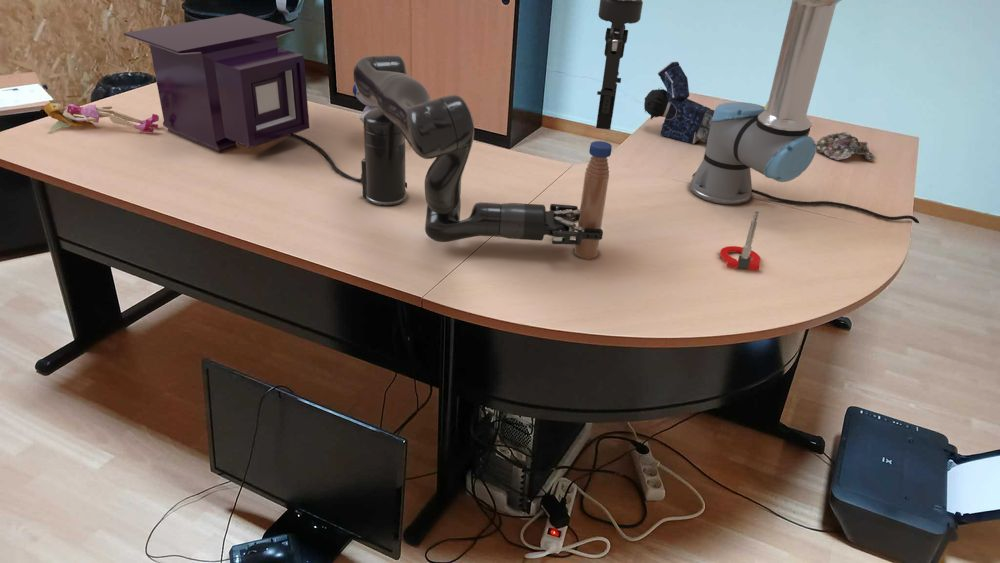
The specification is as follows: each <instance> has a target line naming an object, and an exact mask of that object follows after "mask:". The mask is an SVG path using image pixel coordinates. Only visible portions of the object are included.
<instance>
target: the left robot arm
mask: <svg viewBox="0 0 1000 563" xmlns="http://www.w3.org/2000/svg"><path fill="white" fill-rule="evenodd" d="M353 82H354V84H355V86H356V89H357V91H358V93H359V94H360V96H361V97H362V98H363V99H364V100H366V101H368V102H370V103H372V104H373V105H375V106H376V107H377V108H376V109H374V110H372V111H370V112H368V113H367V114H366V115H365V116H364V121H363V122H362V124H363V141H364V158H362V159H361V162H360V164H361V174H360V178H355V177H353V176H351V175H349V174H347V173H345V172H344V171H342V170H341V169H340V168H338V167H337V166H336V164H335V163H334V160H333V159H332V158H331V157H330V155H328V154H327V152H326V151H325V150H324V149H323V148H322V147H320V146H319V145H318V144H316V143H315V142H313V141H311V140H310V139H308V138H306V137H304V136H302V135H299V134H296V133H293V134H290V135H289V136H291V137H294V138H297V139H299V140H301V141H304V142H306V143H307V144H309V145H310V146H312V147H314V148H315V149H317V151H319V152H320V153H321V154H323V156H324V157H325V158H326V159H327V161H328V162H329V164H330V166H331V167H332V169H333V170H334V171H335V172H337V173H338V174H339V175H341V176H343V177H344V178H346V179H348V180H350V181H354V182H357V183H361V186H362V198H364V199H366V200H367V201H368V202H369V203H371V204H373V205H377V206H395V205H399V204H401V203H403V202H404V201H405V200H406V199H407V190H406V189H408V182H407V181H406V179H407V178H406V141H407V143H408V145H409V146H410V147H411V149H412V150H413V152H414V153H415V154H416V155H417V156H419V157H420V158H422V159H426V160H430V159H431V160H432V159H433V161H432V163H431V164H430V166H429V167H428V170H427V172H426V174H425V177H424V197H425V202H426V214H425V225H424V231H425V234H426V236H427V237H428V238H429V239H431V240H432V241H435V242H438V243H450V242H455V241H459V240H464V239H470V238H475V237H490V238H491V237H493V238H495V237H496V238H504V239H509V240H524V241H543V240H544V237H545V236H549V237H551V238H552V239H551V244H553V245H566V246H571V245H572V246H575V245H581V242H582V241H583V239H593V240H599V241H601V240H602V239H603V235H604V230H603V229H602V228H601V229H594V228H585V229H584V228H582V227H578V225H577V224H578V222H579V215H580V209H579V207H578V206H577V205H571V204H559V203H550V204H549V210H547V209H546V206H545V205H544V204H540V203H539V204H538V203H522V202H521V203H520V202H505V203H504V202H503V203H502V202H501V203H500V202H498V203H497V202H484V201H483V202H482V201H481V202H480V201H479V202H475V204H474V205H473V207H472V209H471V211H470V215H469V216H468V217H467V218H465V219H461V208H462V198H461V194H462V178H463V173H464V171H465V168H466V165H467V162H468V159H469V156H470V152H471V149H472V146H473V143H474V138H475V123H474V119H473V115H472V112H471V110H470V108H469V105H468V104H467V102H466V101H465V99H464V98H462V97H461V96H460V95H458V94H449V95H444V96H441V97H437V98H434V99H432V100H431V97H430V93H429V91H428V90H427V88H426V87H425V86H424V85H423V84H422V83H421V82H420V81H418V80H417V79H416V78H414V77H413V76H412V75H409V74H408V73H407V67H406V62H405V60H404V59H403V57H401V56H400V55H396V54H386V55H366V56H363V57H360V58H359V59H358V60H357V61H356V63H355V65H354V68H353ZM576 223H577V224H576ZM577 231H578V232H577Z"/></svg>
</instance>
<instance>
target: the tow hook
mask: <svg viewBox="0 0 1000 563" xmlns="http://www.w3.org/2000/svg"><path fill="white" fill-rule="evenodd" d="M759 214H760V213H759V211H754V214H753V218H752V221H750V225H749V229H748V233H747V237H746V241H745V244H744V245H743V246H736V245H728V246H725V247H722V248H721V249H720V252H719V255H720V257H721V259H722V260H724V261H725V262H726V263H725V264H726V267H729V268H736V269H740V270H751V271H760V263H761V259H762V258H761V257H760V255H759V254H758V253H757V252H756V251H754V250H752V248H753V247H752V245H753V240H754V236H755V232H756V230H757V226H758V218H759ZM730 253H741V255H738V259H737V258H734V257H732V256H731V255H729V254H730Z"/></svg>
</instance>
